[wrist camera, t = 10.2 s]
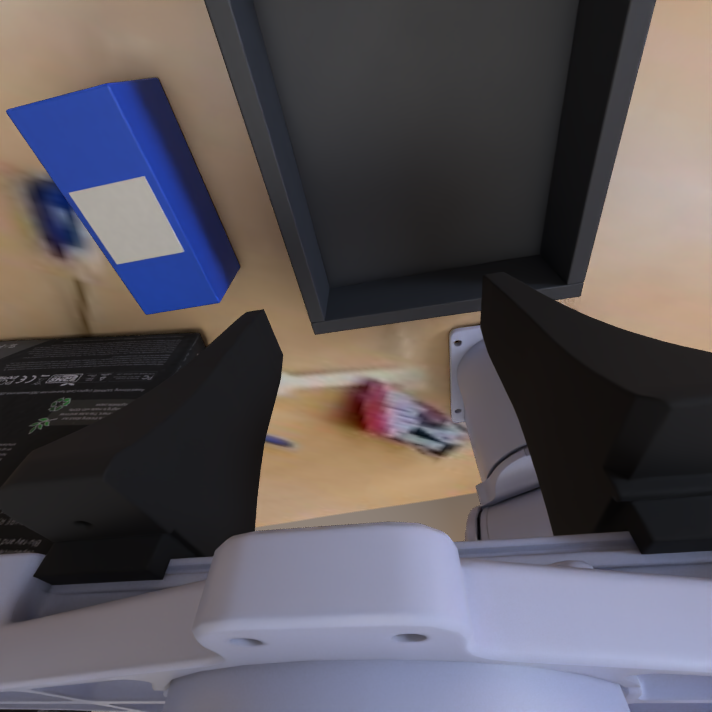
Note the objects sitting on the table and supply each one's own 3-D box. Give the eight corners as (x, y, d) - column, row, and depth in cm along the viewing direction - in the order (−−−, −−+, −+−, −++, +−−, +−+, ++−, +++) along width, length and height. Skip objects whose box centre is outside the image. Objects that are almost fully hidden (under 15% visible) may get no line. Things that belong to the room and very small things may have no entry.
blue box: (241, 267, 21) (219, 304, 18) (176, 278, 21) (144, 316, 18) (158, 76, 15) (105, 83, 12) (72, 99, 16) (1, 110, 13)
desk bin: (549, 261, 20) (581, 296, 17) (321, 297, 22) (314, 335, 19) (646, -287, 10) (769, -435, 7) (195, -134, 12) (138, -197, 9)
